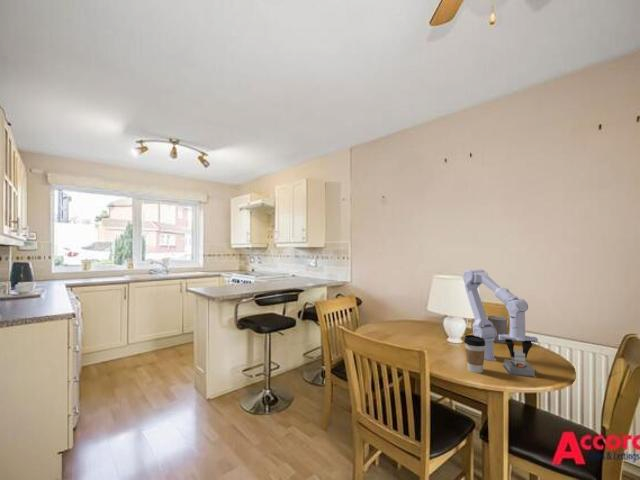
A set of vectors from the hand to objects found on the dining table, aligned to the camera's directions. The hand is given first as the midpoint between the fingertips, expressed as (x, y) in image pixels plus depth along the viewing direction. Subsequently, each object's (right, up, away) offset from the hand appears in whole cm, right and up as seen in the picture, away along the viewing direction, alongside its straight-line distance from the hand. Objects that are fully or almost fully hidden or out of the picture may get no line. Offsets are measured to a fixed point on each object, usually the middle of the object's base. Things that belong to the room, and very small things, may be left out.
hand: (518, 357), depth 127 cm
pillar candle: (+16, -7, +41) cm, 45 cm away
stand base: (0, -7, 0) cm, 6 cm away
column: (0, -4, 0) cm, 4 cm away
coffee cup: (-18, -7, +2) cm, 20 cm away
